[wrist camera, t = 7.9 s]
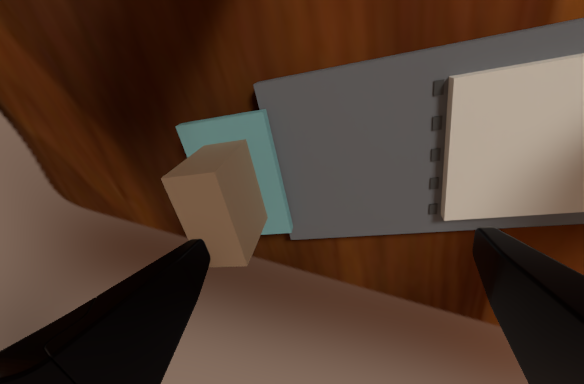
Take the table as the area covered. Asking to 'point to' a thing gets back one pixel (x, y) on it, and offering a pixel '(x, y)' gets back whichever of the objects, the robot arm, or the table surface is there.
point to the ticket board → (435, 137)
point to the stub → (229, 186)
